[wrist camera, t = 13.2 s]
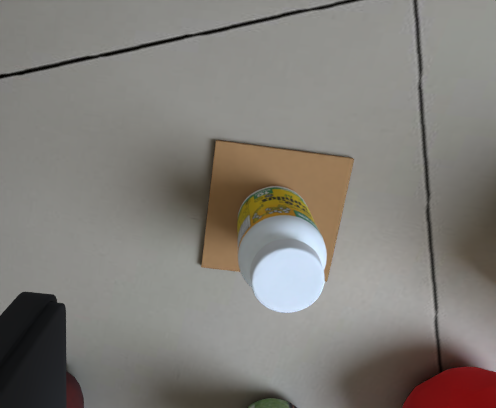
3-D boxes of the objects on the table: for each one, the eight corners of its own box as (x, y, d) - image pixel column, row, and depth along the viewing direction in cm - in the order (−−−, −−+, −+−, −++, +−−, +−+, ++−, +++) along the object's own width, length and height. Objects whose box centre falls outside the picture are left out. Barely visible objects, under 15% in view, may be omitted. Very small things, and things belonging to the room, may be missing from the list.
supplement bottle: (228, 238, 33) (223, 308, 23) (251, 174, 31) (256, 222, 22) (294, 259, 33) (314, 335, 24) (320, 196, 32) (353, 252, 22)
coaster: (201, 265, 34) (201, 267, 33) (215, 139, 30) (215, 140, 30) (326, 279, 34) (327, 281, 34) (352, 157, 31) (354, 159, 31)
